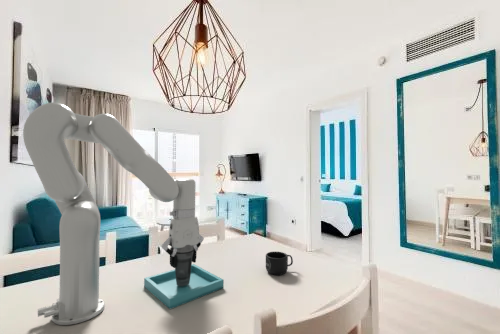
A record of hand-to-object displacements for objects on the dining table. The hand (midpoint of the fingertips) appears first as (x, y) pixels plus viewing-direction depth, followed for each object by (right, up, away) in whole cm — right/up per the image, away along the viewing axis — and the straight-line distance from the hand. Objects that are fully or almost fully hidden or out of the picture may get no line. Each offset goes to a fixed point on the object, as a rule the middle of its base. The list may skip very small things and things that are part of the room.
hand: (183, 263), depth 90 cm
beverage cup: (0, -7, 0) cm, 7 cm away
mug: (+36, -9, +15) cm, 40 cm away
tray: (0, -8, 0) cm, 8 cm away
